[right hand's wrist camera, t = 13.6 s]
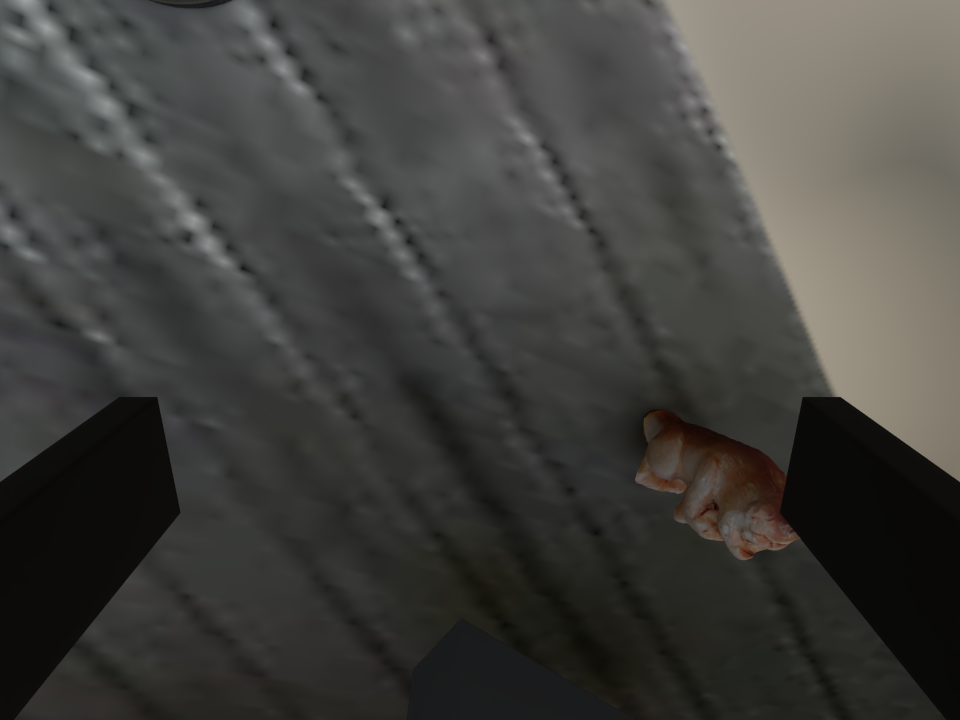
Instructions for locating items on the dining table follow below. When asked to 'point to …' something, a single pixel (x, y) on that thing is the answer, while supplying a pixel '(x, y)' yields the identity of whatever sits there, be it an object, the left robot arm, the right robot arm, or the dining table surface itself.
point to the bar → (495, 684)
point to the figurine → (716, 484)
